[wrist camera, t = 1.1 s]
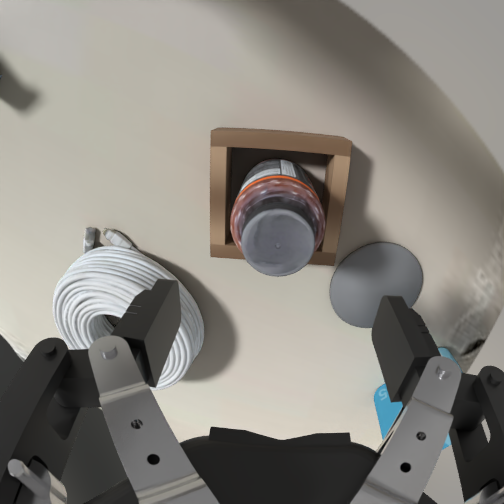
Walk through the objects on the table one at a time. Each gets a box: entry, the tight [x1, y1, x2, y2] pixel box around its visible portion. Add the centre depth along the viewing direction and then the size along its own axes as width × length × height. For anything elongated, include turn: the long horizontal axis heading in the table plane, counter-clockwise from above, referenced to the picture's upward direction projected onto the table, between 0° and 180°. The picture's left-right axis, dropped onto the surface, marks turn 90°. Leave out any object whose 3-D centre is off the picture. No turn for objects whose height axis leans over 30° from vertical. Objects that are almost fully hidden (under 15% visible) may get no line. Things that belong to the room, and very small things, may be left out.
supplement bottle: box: [230, 158, 326, 277], centre depth 22 cm, size 6×6×11 cm
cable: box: [53, 227, 204, 390], centre depth 32 cm, size 18×18×6 cm
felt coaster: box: [330, 242, 422, 328], centre depth 30 cm, size 10×10×1 cm
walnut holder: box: [210, 128, 352, 266], centre depth 25 cm, size 10×10×3 cm
